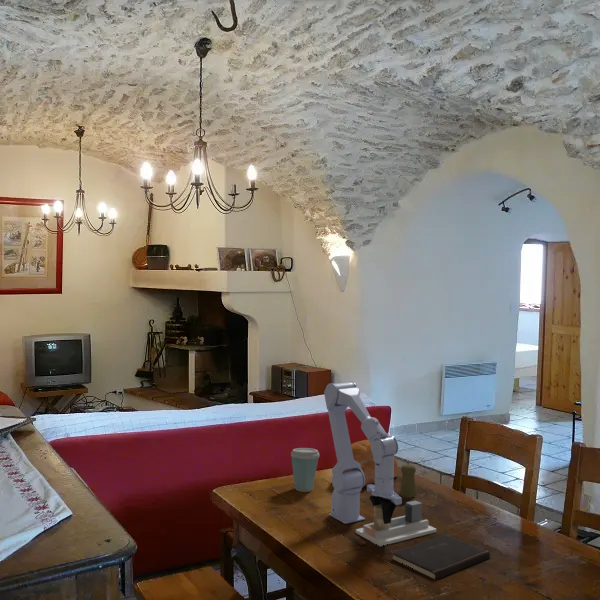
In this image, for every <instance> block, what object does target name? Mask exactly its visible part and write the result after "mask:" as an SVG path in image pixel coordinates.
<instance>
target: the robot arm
mask: <svg viewBox="0 0 600 600" xmlns="http://www.w3.org/2000/svg"><path fill="white" fill-rule="evenodd" d="M323 393H324V401H325V405H326V406H325V407H326V409H327V413H328V417H329V424H330V430H331V433H332V439H333V440H332V441H333V445H334V449H335V455H336V459H337V460H336V461H337V462H336V464H335V465H334V466H333V467H332V469H331V474H332V478H331V483H332V488H333V489H334V490H333V491H332V493H331V510H330V513H328V515H329V516H331V517H333V519H335V520H338V521H340V522H341V523H343V524H345V525H346V524H351V523H355V522H361V521H364V520H365V519H366V518H365V517H364V516H362V515H360V503H361V502H360V497H361V496H360V493H361V492H362V488H364V487H365V486H364V485H365V475H364V473H363V471H362V469H361V465H360V464H359V463H358V462H356V461H355V460H354V458H353V453H352V448H351V444H352V443H351V438H350V434H349V428H348V422H347V418H346V410H347V408H350V410H351V411H352V413H353V414H354V415H355V416H356V417H357V419H358V421H360V423H361V425H360V429H361V431H362V433H364V435H365V437H366V438H367V440H369V441H370V443H371V444H372V446H371V451H372V454H373V460H374V462H375V483H374V484H368V485H366V491H367V492H368V493H371V496H369V500H370V502H371V504H372V507H373V508H374V506H376V505H381V507H382V511H383V521H384V524H388V523H390V522H391V519H392V518H393V514H394V511H395V509H396V508H397V506H399V505H402V503H403V500H402V499H403V497H401V496H400V495H399V494H397V493H396V492H395V491H394V481H395V477H394V456H395V455H397V454H398V451H399V444H398V440H396V437H395V436H393V435H390V433H387V432H386V431H385V429H384V428H383V426H382V425H381V423H380V421H379V419H377V418H376V417H372V416H371V415H370V413H369V411H368V409H367V408H366V405H365V403H364V401H363V400H362V399H361V396H360V394H361V391H360V389H359V387H358V386H357V384H356V383H355V382H354V381H353V380H352V381H345V382H336V383H331V382H329V383H328V384H327V385H326V387H325V389H324V391H323ZM346 469H351V470H349V471H344V470H346ZM343 471H344V472H343Z"/></svg>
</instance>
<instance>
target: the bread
mask: <svg viewBox="0 0 600 600" xmlns="http://www.w3.org/2000/svg"><path fill="white" fill-rule="evenodd" d="M371 446H372V444H371V443H370V441H369V440H368V439H362V440H359V441H356V442H353V443H351V448H352V453H353V458H354V460H355V461H356V462H358V463H359V464H360V465H361V469H362V471H363V473H364V475H365V485H364V486H363V487H365V486H366V487H367V485H371V484H372V485H374V484H375V462H374V460H373V454H372V451H371ZM349 470H351V469H346V470H344V471H349ZM344 471H343V472H344ZM398 473H399V463H398V461H397V458H396V457H395V455H394V478H396V477H397V476H398Z"/></svg>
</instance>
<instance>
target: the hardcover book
mask: <svg viewBox="0 0 600 600" xmlns="http://www.w3.org/2000/svg"><path fill="white" fill-rule="evenodd" d="M390 553H391V555H392V560H394V561H396V562H398V563H400V564H402V563H403V564H402V565H403V566H406V565H407V566H406V567H408V566H409V567H408V568H410V567H411V569H412V568H413V570H414V571H417V572H419V573H421V574H423V575H425V576H427V577H429V578H431V579H434V580H435V581H436V580H438V579H441V578H443V577H446V576H450V575H451V574H453V573H455V572H456V573H457V572H458V571H462V570H463V569H466V568H468V567H471V566H473V565H475V564H478V563H480V562H481V563H482V562H483V561H485V560H488V559H490V558H491V554H490V551H489V550H487V549H485V548H482V547H479V546H478V545H477V546H476V545H475V544H472V543H469V542H466V541H465V540H461V539H460V538H457V537H454V536H452V535H449V534H446V533H445V534H441V535H439V536H436V537H433V538H429V539H427V540H424V541H421V542H418V543H416V544H412V545H410V546H407V547H404V548H401V549H398V550H396V551H392V552H390Z"/></svg>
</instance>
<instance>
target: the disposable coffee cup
mask: <svg viewBox="0 0 600 600" xmlns="http://www.w3.org/2000/svg"><path fill="white" fill-rule="evenodd" d="M290 457H291V465H292V467H291V468H292V475H293V483H294V484H293V485H294V488H295V491H298V492H303V493H306V492H307V493H308V492H311V491H312V490H313V488H314V483H315V477H316V473H317V468H318V467H317V466H318V461H319V458H320V452H319V450H318V449H315V448H312V447H310V448H309V447H297V448H293V449H292V450H291V452H290Z"/></svg>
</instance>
